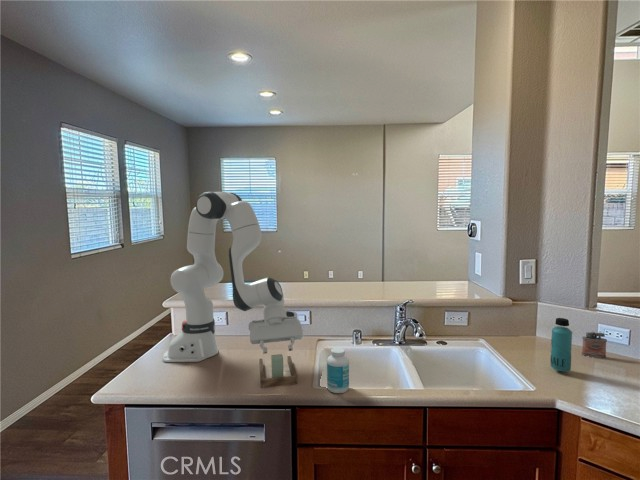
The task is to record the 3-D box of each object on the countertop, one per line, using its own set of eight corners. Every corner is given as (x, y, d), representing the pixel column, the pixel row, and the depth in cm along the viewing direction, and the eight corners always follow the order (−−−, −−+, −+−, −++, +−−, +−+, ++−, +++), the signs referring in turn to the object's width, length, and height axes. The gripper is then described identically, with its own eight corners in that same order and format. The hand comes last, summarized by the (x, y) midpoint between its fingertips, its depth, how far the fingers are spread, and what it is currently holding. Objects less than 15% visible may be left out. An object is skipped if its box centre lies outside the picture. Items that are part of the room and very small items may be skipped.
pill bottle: (347, 395, 117) (347, 355, 116) (325, 393, 119) (324, 353, 118) (350, 384, 124) (349, 346, 123) (329, 382, 126) (328, 345, 125)
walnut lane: (261, 387, 123) (260, 380, 123) (259, 364, 142) (259, 358, 142) (296, 383, 126) (296, 376, 125) (290, 361, 144) (290, 355, 144)
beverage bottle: (567, 369, 134) (569, 316, 132) (573, 377, 127) (576, 322, 126) (547, 367, 136) (549, 315, 134) (552, 374, 130) (554, 320, 128)
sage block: (272, 380, 128) (271, 359, 127) (271, 376, 132) (271, 354, 131) (283, 379, 129) (283, 358, 128) (282, 374, 133) (282, 353, 132)
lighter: (583, 356, 145) (584, 332, 145) (580, 353, 148) (581, 329, 148) (607, 359, 142) (608, 334, 142) (604, 356, 145) (605, 332, 145)
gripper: (248, 317, 138) (249, 350, 129) (300, 312, 142) (305, 345, 133) (248, 325, 142) (249, 358, 133) (299, 320, 146) (304, 352, 137)
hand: (278, 351), depth 133 cm, fingers open, 8 cm apart
